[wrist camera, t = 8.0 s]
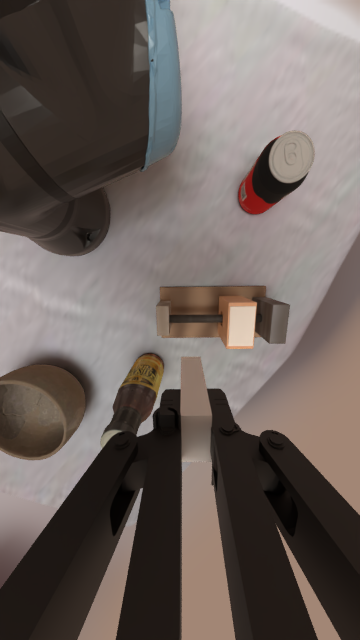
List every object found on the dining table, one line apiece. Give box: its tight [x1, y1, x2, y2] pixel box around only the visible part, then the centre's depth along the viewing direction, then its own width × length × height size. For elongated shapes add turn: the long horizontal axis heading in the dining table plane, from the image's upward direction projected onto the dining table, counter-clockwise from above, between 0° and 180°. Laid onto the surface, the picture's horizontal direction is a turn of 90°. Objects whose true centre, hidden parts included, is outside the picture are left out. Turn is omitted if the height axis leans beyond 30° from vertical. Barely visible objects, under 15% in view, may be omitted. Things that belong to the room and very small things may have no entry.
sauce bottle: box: [100, 353, 164, 448], centre depth 33 cm, size 6×6×20 cm
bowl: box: [0, 365, 85, 460], centre depth 39 cm, size 17×18×10 cm
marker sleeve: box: [218, 296, 257, 349], centre depth 33 cm, size 7×4×8 cm, turn 1°
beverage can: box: [238, 131, 315, 214], centre depth 28 cm, size 6×6×12 cm
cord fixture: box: [156, 286, 290, 344], centre depth 35 cm, size 20×10×10 cm, turn 91°
